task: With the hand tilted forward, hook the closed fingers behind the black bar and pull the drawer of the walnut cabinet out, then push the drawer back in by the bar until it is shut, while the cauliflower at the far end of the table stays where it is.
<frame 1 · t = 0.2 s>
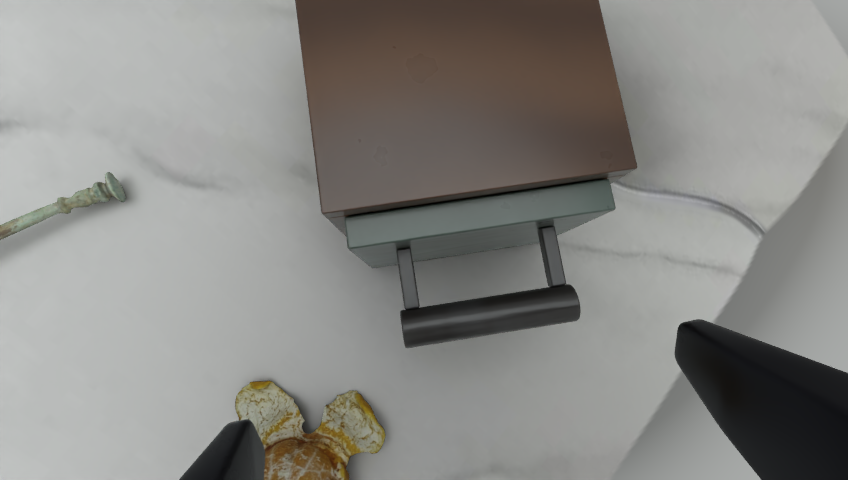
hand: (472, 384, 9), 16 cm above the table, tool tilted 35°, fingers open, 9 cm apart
cabinet: (435, 128, 26), on the table
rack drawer: (453, 157, 20), point 5 cm above the table, slide at 0.0 cm, touching cabinet
fruit: (314, 450, 23), on the table
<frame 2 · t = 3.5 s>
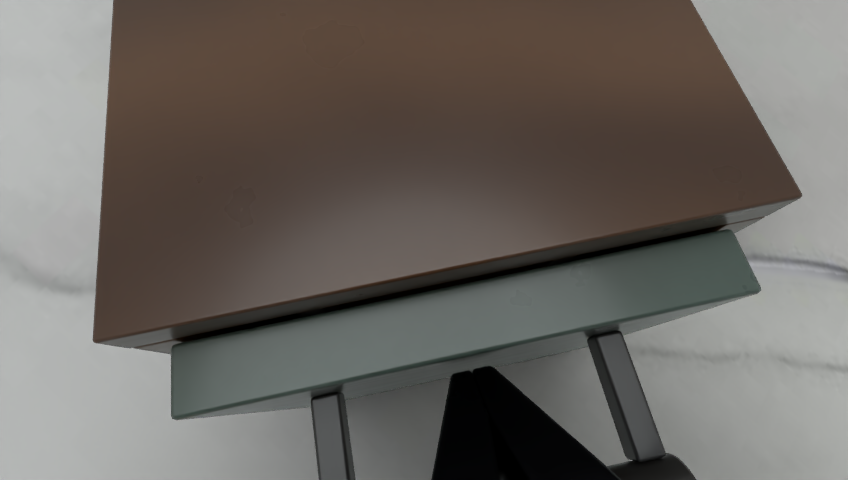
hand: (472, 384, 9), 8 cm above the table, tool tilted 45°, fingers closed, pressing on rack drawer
cabinet: (410, 189, 19), on the table
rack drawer: (426, 220, 12), point 5 cm above the table, slide at 0.0 cm, touching gripper
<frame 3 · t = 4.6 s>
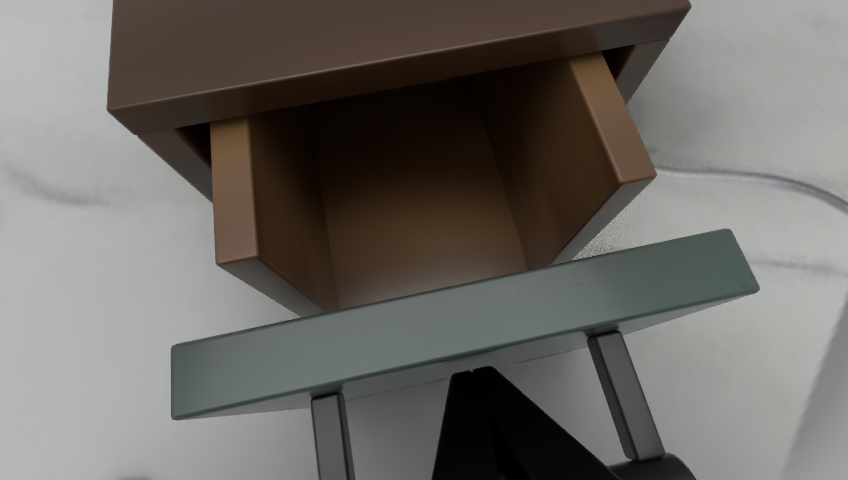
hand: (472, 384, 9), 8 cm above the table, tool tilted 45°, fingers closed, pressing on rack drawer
cabinet: (393, 114, 20), on the table
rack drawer: (426, 220, 12), point 5 cm above the table, slide at 4.2 cm, touching gripper
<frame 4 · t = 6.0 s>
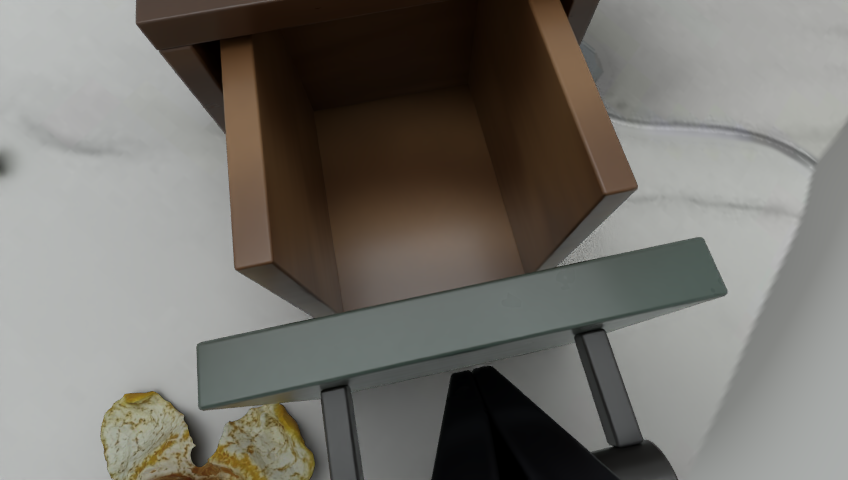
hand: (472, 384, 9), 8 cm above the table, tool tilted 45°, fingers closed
cabinet: (383, 72, 22), on the table
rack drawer: (426, 223, 13), point 5 cm above the table, slide at 6.9 cm
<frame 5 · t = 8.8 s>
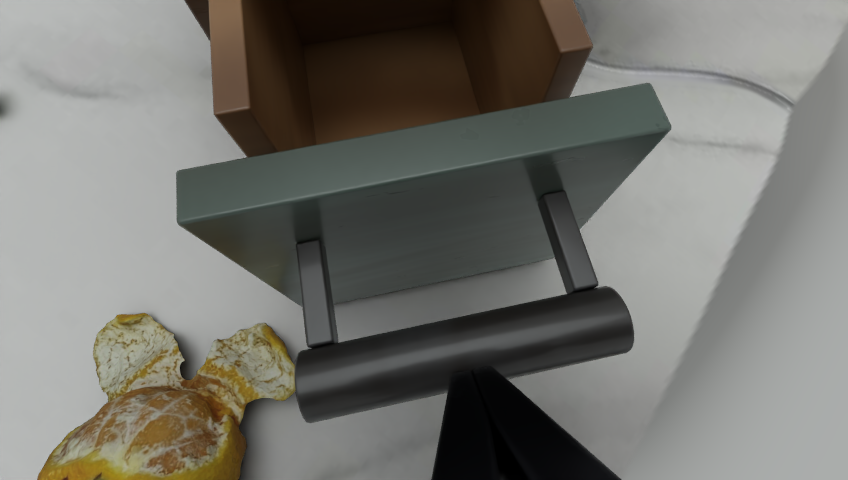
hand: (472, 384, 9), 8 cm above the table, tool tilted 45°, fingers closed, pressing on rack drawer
cabinet: (373, 22, 22), on the table
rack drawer: (404, 125, 14), point 5 cm above the table, slide at 6.6 cm, touching gripper
fruit: (202, 412, 16), on the table
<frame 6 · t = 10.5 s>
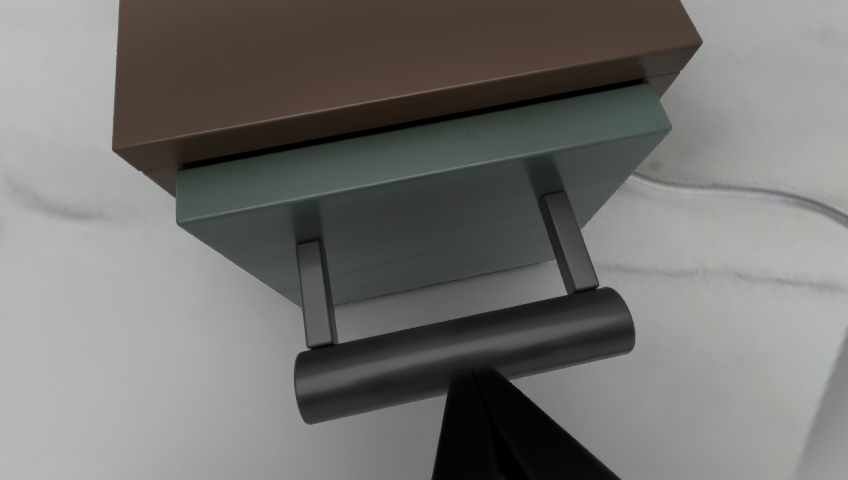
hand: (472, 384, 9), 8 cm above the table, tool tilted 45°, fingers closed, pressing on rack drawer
cabinet: (396, 128, 20), on the table
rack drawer: (404, 126, 14), point 5 cm above the table, slide at 0.0 cm, touching cabinet, gripper
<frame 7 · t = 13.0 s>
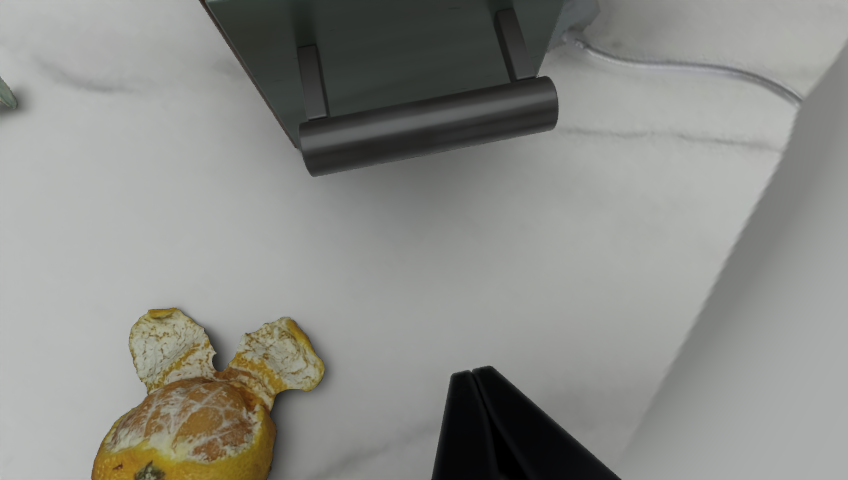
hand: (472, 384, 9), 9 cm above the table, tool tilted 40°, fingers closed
cabinet: (384, 12, 22), on the table
fruit: (233, 400, 17), on the table
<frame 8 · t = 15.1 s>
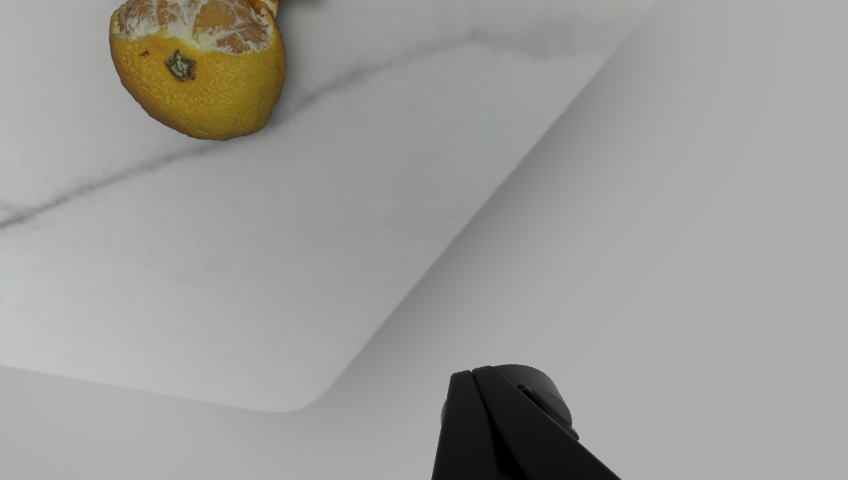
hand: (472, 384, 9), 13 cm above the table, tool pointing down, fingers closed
fruit: (227, 8, 17), on the table
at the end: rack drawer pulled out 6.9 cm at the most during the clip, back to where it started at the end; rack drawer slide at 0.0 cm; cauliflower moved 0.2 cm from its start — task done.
